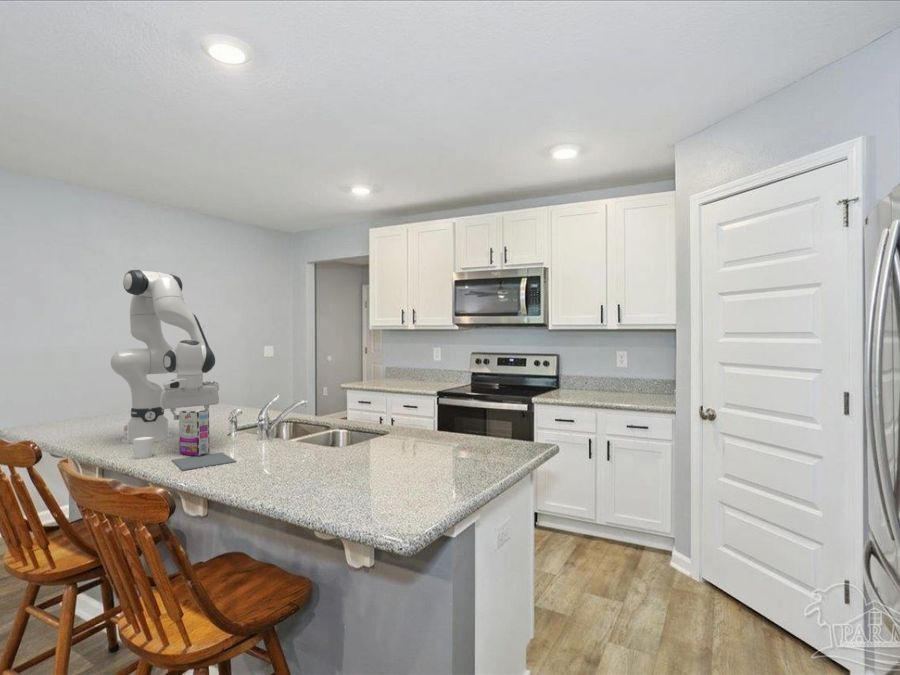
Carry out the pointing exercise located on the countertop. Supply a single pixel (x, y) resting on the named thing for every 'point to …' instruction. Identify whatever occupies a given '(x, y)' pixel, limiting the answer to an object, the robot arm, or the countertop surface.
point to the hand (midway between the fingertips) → (190, 418)
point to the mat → (202, 461)
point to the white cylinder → (143, 447)
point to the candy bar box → (194, 432)
